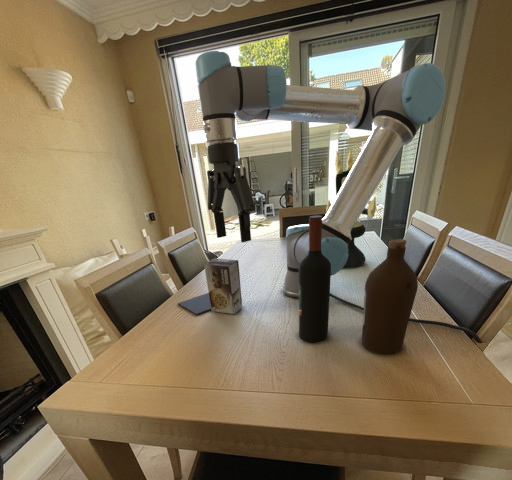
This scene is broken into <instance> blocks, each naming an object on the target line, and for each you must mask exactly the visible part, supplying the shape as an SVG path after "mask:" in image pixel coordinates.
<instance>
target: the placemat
mask: <svg viewBox="0 0 512 480" xmlns="http://www.w3.org/2000/svg"><path fill="white" fill-rule="evenodd" d="M177 304H178V306H180V307H182V308H183V309H185V310H187V311H188V312H190V313H191V314H193V315H195V316H199V315H201V314H204V313H207V312H209V311H210V312H211V304H210V298H209V292H207V293H204V294H200V295H198V296H195V297H192V298H189V299H186V300H184V301H179V302H177Z"/></svg>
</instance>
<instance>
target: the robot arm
mask: <svg viewBox="0 0 512 480" xmlns="http://www.w3.org/2000/svg"><path fill="white" fill-rule="evenodd" d="M195 71H196V72H195V73H196V80H197V90H198V97H199V104H200V109H201V110H200V111H201V117H202V122H203V131H204V136H205V142H206V143H207V144H208V145H207V147H206V153H207V159H208V163H209V164H210V165H213V169H209V170H207V171H206V175H207V210H208V211H211V213H212V214H213V219H214V224H215V225H214V226H215V232H216V238H218V239H220V238H225V237H227V229H226V222H225V215H224V214H225V213H224V209H223V203H224V200H225V199H224V198H225V193H226V190H228V191H229V192H230V194H231V196H232V198H233V200H234V202H235V205H236V206H237V209H238V211H239V212H238V214H237V215H238V216H237V217H238V223H239V234H240V242H241V243H246V242H250V241H252V235H251V234H252V233H251V226H252V225H251V224H252V223H251V213H252V212H255V211H256V205H255V202H254V198H253V195H252V191H251V188H250V184H249V181H248V177H247V168H246V166H238V165H237V162H239V161H240V151H239V144H238V143H237V142H236V141H237V140H238V129H237V119H238V120H240V121H242V122H251V121H253V120H257V121H284V122H301V123H302V122H304V123H317V124H318V123H321V124H339V125H346V126H347V127H348V129H350V130H352V129H353V130H363V131H370V132H371V134H370V136H369V137H368V139H367V141H366V143H365V144H364V146H363V148H362V150H361V152H360V153H359V155H358V157H357V159H356V161H355V162H354V164H353V165H352V169H351V171H350V173H349V175H348V177H347V178H346V180H345V182H344V184H343V186H342V187H341V189H340V191H339V193H338V195H337V194H336V195H335V198H334V200H333V201H332V203H331V207H330V209H329V211H328V213H327V214H326V213H325V216H324V217H322V237H321V252H322V254H323V255H324V256H325V257H326V258H327V259H328V260H329V262H330V263H331V276H334V275H336V274H338V273H339V272H340V271H342V269H344V268H343V267H344V265H345V264H346V262H347V259H348V245H349V243H350V242H351V240H352V238H351V230H352V228H353V227H354V225H355V223H356V222H357V220H358V221H359V219H360V217H361V215H362V214H361V213H362V212H363V210H364V208H367V207H366V206H367V205H368V203H369V201H370V200H371V198H372V197H373V195H374V193H375V191H376V189H377V188H378V186H379V185H380V184H381V181H382V180H383V178H384V176H385V174H386V173H387V171H388V170H389V169H390V167H391V165H392V163H393V162H394V160H395V158H396V156H397V155H398V153H399V151H400V150H401V148H402V147H404V146H406V145H409V144H411V143H412V141H413V139H414V138H415V136H416V135H417V133H418V131H419V129H420V128H421V126H422V125H423V126H424V125H427V124H428V123H430V122H431V121H433V120H434V119H435V118H436V117H437V116H438V115H439V113H440V111H441V110H442V108H443V105H444V102H445V98H446V93H447V89H446V77H445V75H444V73H443V71H442V69H441V68H440V67H439V66H438V65H436V64H434V63H432V62H425V63H421V64H417V65H414V66H412V67H411V68H409V70H406V71H404V72H402V73H399V74H397V75H395V76H393V77H390V78H389V79H388V78H387V79H386V80H384V81H382V82H379V83H376V84H372V85H371V84H370V85H357V86H356V87H355V88H354V89H345V88H344V89H343V88H333V87H332V88H331V87H318V86H305V85H291V84H287V75H286V72H285V69H284V68H283V66H281V65H277V64H276V65H275V64H270V63H267V64H266V65H265V64H264V65H263V64H262V65H243V66H235V65H232V63H231V59H230V55H229V54H228V53H227V52H224V51H219V50H210V51H206V52H203V53H200V54H199V55H198V56H197V58H196V60H195ZM236 118H237V119H236ZM285 233H286V234H285V244H286V247H285V248H286V274H285V277H284V282H283V284H282V293H283V294H284V295H286V296H287V297H291V298H297V299H299V264H300V262H301V261H302V259H303V258H305V257H306V256H307V255H308V252H309V223H307V224H306V223H305V224H298V225H292V226H288V227H287V228H286V230H285ZM330 297H331V298H333V299H334V300H336V301H339V302H341V303H343V304H346V305H348V306H350V307H353V308H356V309H359V310H361V311H363V312H364V306H361V305H358V304H356V303H353V302H350V301H348V300H345V299H343V298H341V297H339V296H336V295H334V294H332V293H331V292H330ZM408 323H417V324H425V325H435V326H441V327H446V328H449V329H453V330H458V331H461V332H465V333H467V334H469V335H470V336H471V337H472V338H473V340H474V341H476V343H477V344H483V341H482V339H481V338H480V336H478V335H477V333H475V331H473V330H471V328H470V329H469V328H467V327H464V326H460V325H456V324H451V323H447V322H445V321H444V322H443V321H437V320H430V319H429V320H426V319H418V318H411V317H410V318H409V322H408Z"/></svg>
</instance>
